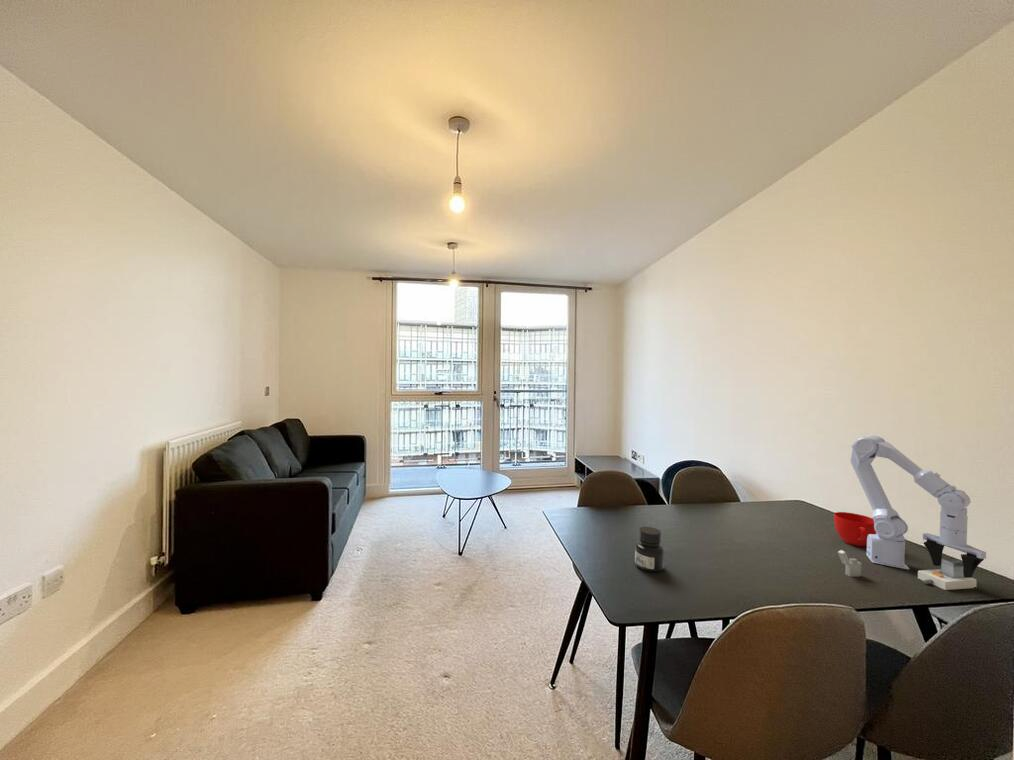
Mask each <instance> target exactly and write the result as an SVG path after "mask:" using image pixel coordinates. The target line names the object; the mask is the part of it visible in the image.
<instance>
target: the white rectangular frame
mask: <svg viewBox="0 0 1014 760" xmlns="http://www.w3.org/2000/svg"><path fill="white" fill-rule="evenodd" d="M917 579H918V580H920V581H922V583H924V584H925V585H929V584H930V585H933V586H935V587H938V588H940V589H941V590H944V591H949V590H961V589H962V590H963V589H975V588H974V587H976V588H977V578H974V577H972V578H966V577H965V578H954V579H953V578H950V577H948V576H945V575H943V574H941V568H939V569H937V568H936V569H923V570H918V571H917Z"/></svg>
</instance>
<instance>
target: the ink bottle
mask: <svg viewBox="0 0 1014 760" xmlns="http://www.w3.org/2000/svg"><path fill="white" fill-rule="evenodd" d="M638 532H639V533H638V534H639V535H638V540H639V541H637V542H636V543H635V549H634V563H635V566H636V567H637V568H639V569H640V570H642V571H645V572H648V573H657V572H658V573H659V572H661V571H663V570H664V568H665V567H664V564H665V563H664V561H665V557H664V556H665V549H664V547H663V546H662V545H661V542H662V541H661V540H662V539H661V538H662V532H661V530H660V529H658V528H656V527H653V526H642V527H639V531H638Z"/></svg>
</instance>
